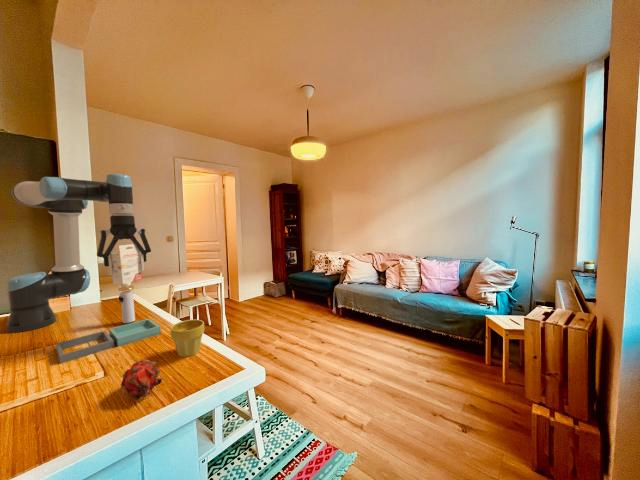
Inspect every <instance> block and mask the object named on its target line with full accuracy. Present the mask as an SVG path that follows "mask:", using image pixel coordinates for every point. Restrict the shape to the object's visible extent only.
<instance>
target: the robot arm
mask: <svg viewBox="0 0 640 480" xmlns="http://www.w3.org/2000/svg"><path fill="white" fill-rule="evenodd" d="M10 192H11V196H12V198H13V199H14V201H16V202H17V203H19V204H22V205H24V206H27V207H30V208H35V209H36V208H37V209H47V212H48V213H49V214H50V215H52V217H53V241H54V259H55V265H54V266H53V267H52V268H51V270H50V271H51V272H50V273H48V274H47V273H46V272H45V271H37V272H31V273H25V274H20V275H17V276H14V277H12V278H10V279H9V280H8V281H7V289H6V290H7V294H8V300H9V301H8V302H9V309H10V312H9V313H10V314H9V316H8V319H7V323H6V325H5V331H6V332H7V333H20V332H27V331H33V330H36V329H41V328H45V327H46V326H49V325H52V324H54V323H56V322H57V316H56V314H55V312H54V311H53V309H52V308H51V305H50V302H49V301H50V300H51V299H55V298H60V297H65V296H69V295H76V294H78V293H84V292H86V290H87V289H88V288H89V287H90V284H91V283H90V282H91V275H90V271H89V269H86V268H85V266H84V265H82V264H81V261H80V260H81V256H80V255H81V254H80V230H79V229H80V228H79V226H80V225H79V216H81V215H82V214H83V210H85V209H87V208H88V204H89V201H91V202H93V201H97V202H102V203H103V202H104V203H108V208H109V209H108V210H109V215H111V216H109V219H110V220H109V221H110V228H109V229H105V230H104V229H102V230H100V231H99V232H100V240H99V244H98V249H97V252H96V256H97V257H100V258H103V265H104V267H107V270H108V273H107V274H108V275H109V276H112V275H113V274H112V262H111V258H110V254H112V251H113V250H114V248H115V246H116V244H118V243H117V242H118V241H119V240H131V242H132V244H136V246H137V247H138V248H139V251H140V261H141V272H143V271H145V263H146V262H147V254H148V253H151V252H152V249H151V246H150V244H149V242H148V239H147V237H146V229H145V228H137V227H136V223H135V222H136V221H135V216H134V214H135V211H134V198H133V197H134V196H133V184H132V178H131V177H130V175H127V174H124V173H108V174H107V175H106V180H105V181H95V180H84V179H75V178H65V177H58V176H43V177H42V178H40V180H37V181H34V180H33V181H32V180H31V181H29V180H27V181H20V182H18V183H16V184H15V185H13V187H12V188H11V191H10ZM136 233H137V234H138V235H139V237H140V239H141V241H142V244H143V245H141V243H140V242H139V241H138V240H137V238H136V236H135V234H136ZM110 234H111V235H112V236H113V237H112V239H111V241H110V242H109V244H108V246H107V248H106V250H105V251H104V249H105V245H106V241H107V236H109V235H110ZM143 246H144V247H143Z"/></svg>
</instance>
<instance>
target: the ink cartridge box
mask: <svg viewBox="0 0 640 480" xmlns="http://www.w3.org/2000/svg"><path fill="white" fill-rule="evenodd" d="M127 248H128V249H127ZM118 251H119V252H113V253H112V252H111V253H110V255H109V257H110V258H111V262H112V274H113V275H111V277H112V285H113V284H115V285H121V284H125V283H129V282H131V283H133V282H136V281H137V282H138V281H140V280H142V279H143V273H142V271H141V261H140V254H141V252H140V251H139V248H138V247H137V246H136V244H134V243H131V244H130V243H129V244H122V245H119V246H118Z"/></svg>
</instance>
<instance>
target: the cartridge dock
mask: <svg viewBox="0 0 640 480" xmlns="http://www.w3.org/2000/svg"><path fill="white" fill-rule="evenodd" d="M101 339H103V340H104V342H100V343H96V344H93V345H89V346H86V347H82V348H79V349H76V350H73V351H68V352H66V353H64V351H63V350H65V348H66V349H68V348H72V347H76V346H80V345H84V344H86V343H90V342H94V341H97V340H101ZM112 348H115V342H114V340H113V339H112V338H111V337H110V335H109V333H108V331H106V330H102V331H97V332H94V333H91V334H86V335H83V336H78V337H74V338H72V339H68V340H65V341H64V340H63V341H60V342H59V341H58V342H56V343H55V349H56V354H57V353H58V354H57V356H58V360H59V363H60V364H63V363H62V362H64V363H66V361H67V362H70V361H73V359H74V360H75V359H76V360H77V359H80V358H83V357H86V355H87V356H90V355H92V354H93V355H94V354H95V353H99V352H102V351H106V350H109V349H112ZM89 354H90V355H89Z"/></svg>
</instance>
